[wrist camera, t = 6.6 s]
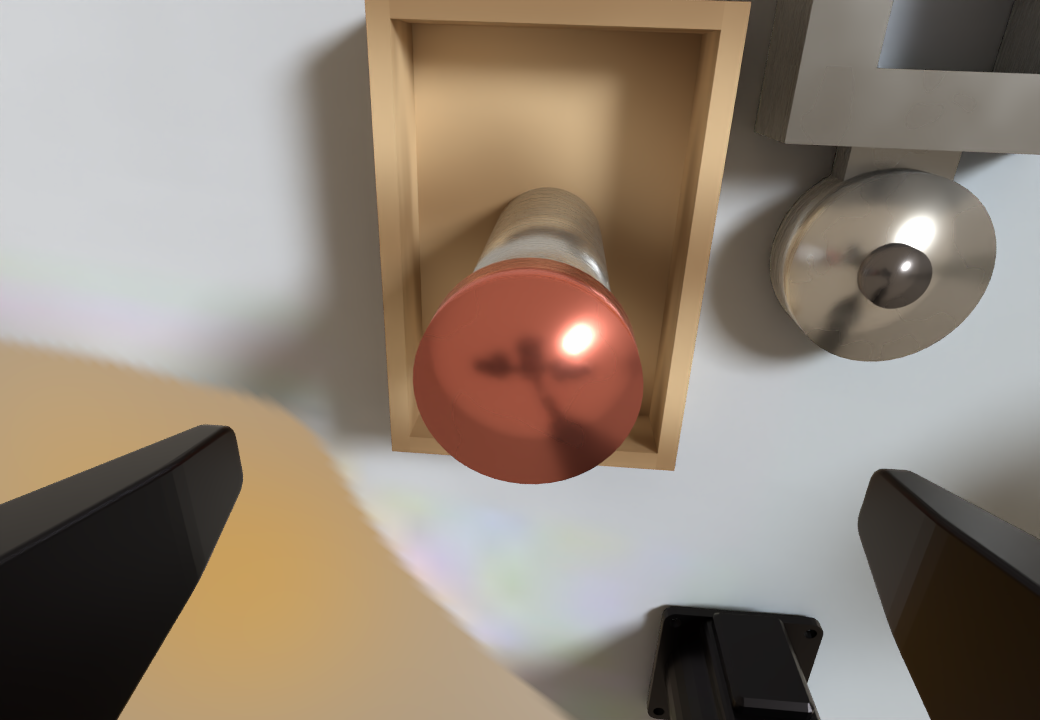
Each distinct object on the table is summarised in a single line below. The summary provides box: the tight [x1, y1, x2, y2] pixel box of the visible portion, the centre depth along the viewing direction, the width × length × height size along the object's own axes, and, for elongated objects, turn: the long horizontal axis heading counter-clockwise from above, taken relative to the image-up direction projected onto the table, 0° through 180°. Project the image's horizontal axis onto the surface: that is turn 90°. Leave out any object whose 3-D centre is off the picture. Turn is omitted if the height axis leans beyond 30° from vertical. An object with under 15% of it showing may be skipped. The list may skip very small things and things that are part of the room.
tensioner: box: [754, 0, 1040, 361], centre depth 17 cm, size 14×8×3 cm, turn 178°
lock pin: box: [413, 187, 643, 484], centre depth 16 cm, size 4×4×10 cm
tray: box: [365, 0, 751, 471], centre depth 19 cm, size 13×9×3 cm
